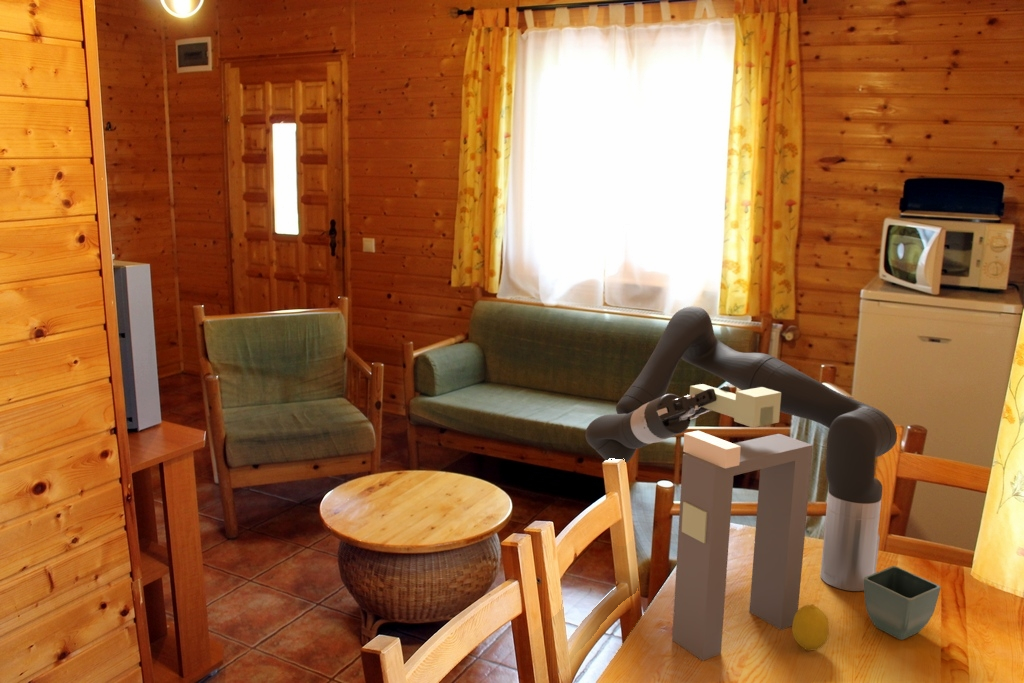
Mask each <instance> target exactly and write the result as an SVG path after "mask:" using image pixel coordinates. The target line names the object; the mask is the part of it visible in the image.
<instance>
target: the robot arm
mask: <svg viewBox="0 0 1024 683" xmlns="http://www.w3.org/2000/svg"><path fill="white" fill-rule="evenodd" d="M713 326H714V325H713V322H712V319H711V317H710V315H709V313H708V312H707V311H706V310H705V309H704V308H702V307H699V306H695V305H693V306H692V305H691V306H686V307H683V308H681V309H679V310H678V311H676V312H675V313H674V314H673V315H672V317H671V318H670V320H669V321H668V323H667V326H666V327H665V329H664V331H663V333H662V335H661V337H660V339H659V341H658V343H657V344H656V346H655V348H654V350H653V351H652V354H651V355H650V357H649V358H648V361H647V362H646V363H645V365H644V367H643V368H642V370H641V372H640V373H639V374H638V376H637V377H636V378H635V380H634V382H632V384H631V385H630V386H629V388H628V389H627V391H625V393H624V394H623V395H622V397H621V398H620V399H619V400H618V403H617V404H616V406H615V412H616V413H611V414H604V415H601V416H599V417H597V418H595V419H593V420H592V421H591V422H590V423H589V424H588V426H587V428H586V429H585V440H586V442H587V443H588V445H589V446H590V447H591V448H592V449H594V450H595V452H597V454H599V455H600V456H601V457H602V458H603V459H604V460H605V461H606V460H608V459H609V458H615V459H623V458H624V459H625V462H626V464H627V463H628V462H630V460H631V459H632V458H633V457H634V455H635V453H636V450H637V449H641V448H644V447H647V446H648V445H651V444H653V443H654V444H655V443H660V442H662V441H664V440H667V439H669V438H672V437H675V436H677V435H680V434H684V433H685V432H686V431H687V430H688V429H689V427H690V424H691V420H693V419H696V418H699V417H700V415H703V414H706V413H709V412H714V411H713V410H710V409H707V408H704V407H701V406H705V405H707V404H709V403H712V402H714V401H716V399H717V398H716V395H715V391H714V389H713V388H712V389H708V390H705V391H703V392H701V393H699V394H692V395H691V396H690V394H687V395H683V396H681V397H680V396H679V395H676V394H674V393H667V392H668V389H669V387H670V384H671V381H672V379H673V376H674V373H675V371H676V369H677V366H678V364H679V362H680V360H683V361H685V363H689V364H690V365H692V366H695V367H697V368H699V369H701V370H704V371H706V372H708V373H710V374H713V375H714V376H716V377H719V378H720V379H723V381H724V382H727V383H728V384H730V385H731V386H734V387H735V388H737V389H739V391H741V390H747V389H753V388H759V387H764V388H767V389H771V390H774V391H778V392H781V402H780V413H784V414H786V415H791V416H794V417H798V418H802V419H806V420H809V421H812V422H815V423H818V424H820V425H821V426H824V427H826V428H828V430H827V431H828V433H827V437H826V438H827V439H826V451H825V452H826V454H825V476H826V480H827V482H828V487H827V488H828V490H827V491H828V492H827V499H826V502H827V503H826V511H825V522H824V523H825V524H824V533H823V543H822V544H823V545H822V555H821V563H820V564H821V566H820V575H819V576H820V578H821V580H822V581H823V582H824V583H826V584H827V585H830V586H831V587H834V588H837V589H840V590H844V591H851V592H861V591H863V592H864V577H866V576H869V575H872V574H874V573H877V564H878V556H879V549H880V548H879V546H880V540H881V539H880V537H881V536H880V533H879V525H880V518H881V507H882V506H881V505H882V498H883V484H882V483H881V481H880V480H879V479H877V478H876V477H875V464H876V459H877V458H878V457H881V456H883V455H885V454H887V453H888V452H890V451H891V450H893V448H894V447H895V445H896V443H897V439H898V432H897V428H896V426H895V424H894V423H893V420H891V418H890V417H889V416H888V415H887V414H886V413H885V412H883V411H881V410H880V409H878V408H876V407H874V406H871V405H869V404H866V403H864V402H862V401H858V400H856V399H854V398H852V397H850V396H848V395H845V394H842V393H841V392H837V391H836V390H834V389H833V388H830V387H828V386H826V385H825V384H823V383H822V382H820V381H818V380H816V379H814V378H812V377H811V376H809V375H807V374H806V373H804V372H802V371H800V370H798V369H796V368H795V367H793V366H791V365H790V364H788V363H786V362H784V361H782V360H780V359H779V358H777V357H775V356H773V355H771V354H767V353H764V352H741V351H738V350H735V349H733V348H732V347H730V346H728V345H727V344H725V343H723V342H722V341H720V340H719V339H718V338H717V337H716V336H715V331H714V328H713ZM718 389H720V390H724V391H727V392H731V388H730V386H729V385H725V386H723V387H719V388H718ZM731 393H732V392H731ZM624 459H623V460H624ZM611 460H612V459H611Z"/></svg>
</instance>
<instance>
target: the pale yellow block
mask: <svg viewBox="0 0 1024 683" xmlns="http://www.w3.org/2000/svg"><path fill="white" fill-rule="evenodd" d="M712 388H713V389H714V391H715V395H716V398H717V399H716V401H714V402H712V403H709V404H707V405H705V406H701V407H704V408H707V409H710V410H713V411H712V412H716V413H718V414H721V415H725V416H727V417H728V416H729V417H730V418H733V422H735V423H738V424H741V425H744V426H747V427H750V428H753V429H754V428H758V427H762V426H767V425H772V424H776V423H777V424H778V423H780V413H781V412H780V402H781V392H778V391H774V390H771V389H767V388H764V387H759V388H753V389H747V390H737V391H735V393H734V392H727V391H724V390H720V389H719V388H717V387H715V386H714V387H713V386H710V385H707V384H704V383H702V384H701V383H699V384H695V385H690V386H689V395H690V396H691V395H692V394H699V393H701V392H703V391H705V390H708V389H712Z"/></svg>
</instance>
